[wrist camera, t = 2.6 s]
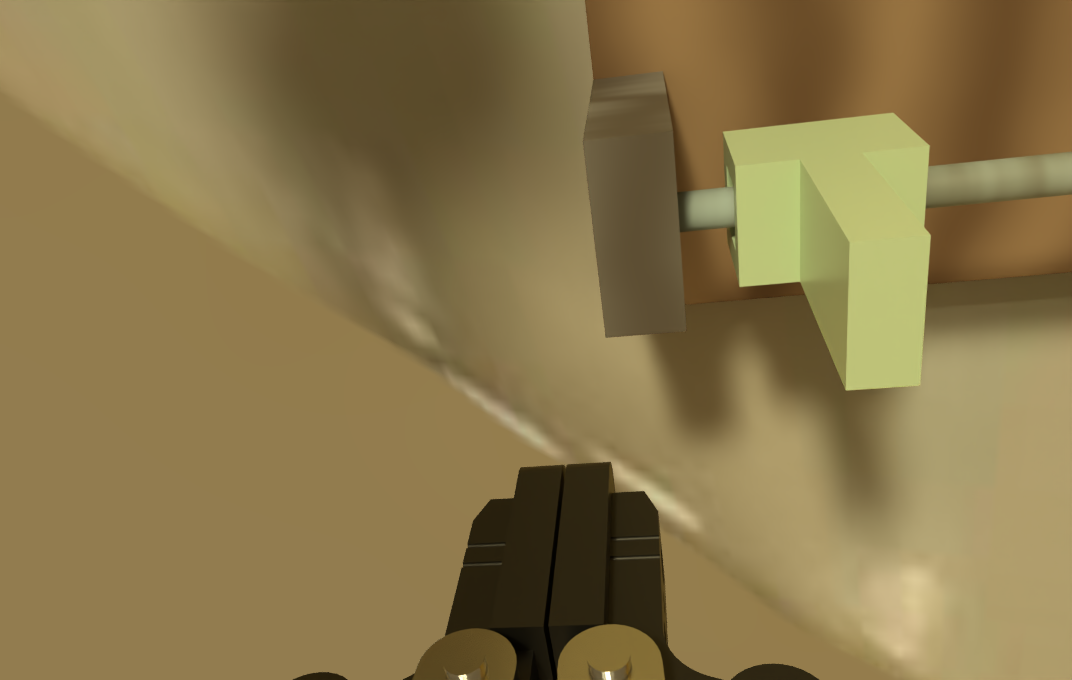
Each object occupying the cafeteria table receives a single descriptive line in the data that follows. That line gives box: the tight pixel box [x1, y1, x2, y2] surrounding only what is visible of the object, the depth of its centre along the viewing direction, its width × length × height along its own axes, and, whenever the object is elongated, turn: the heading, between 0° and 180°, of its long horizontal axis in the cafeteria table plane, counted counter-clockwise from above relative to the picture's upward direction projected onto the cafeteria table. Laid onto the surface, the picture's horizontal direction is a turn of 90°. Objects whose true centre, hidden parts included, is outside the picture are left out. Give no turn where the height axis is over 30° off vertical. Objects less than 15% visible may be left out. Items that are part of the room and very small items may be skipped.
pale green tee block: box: [723, 113, 931, 391], centre depth 23 cm, size 5×4×10 cm
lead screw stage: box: [583, 0, 1072, 338], centre depth 27 cm, size 25×12×10 cm, turn 98°
